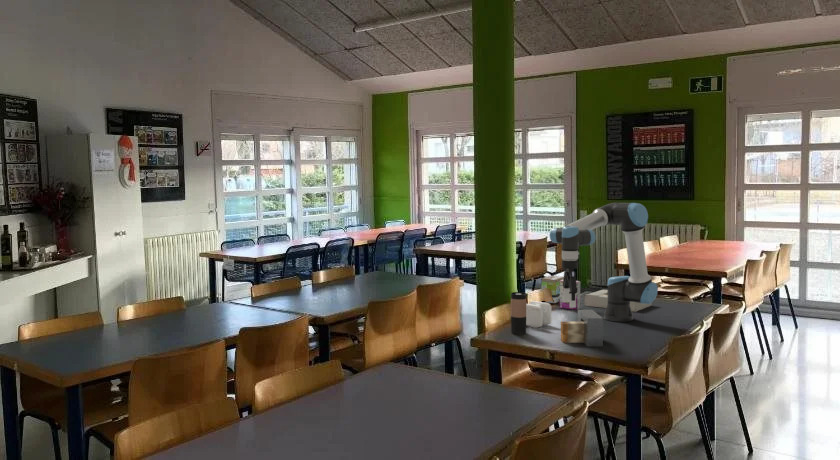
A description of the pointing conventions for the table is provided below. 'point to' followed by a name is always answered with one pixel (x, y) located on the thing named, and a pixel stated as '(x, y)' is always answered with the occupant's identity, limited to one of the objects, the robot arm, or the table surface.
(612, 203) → the robot arm
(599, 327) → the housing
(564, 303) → the candy bar box
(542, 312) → the cable organizer
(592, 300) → the box
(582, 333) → the bar
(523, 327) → the travel mug
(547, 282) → the tea box
